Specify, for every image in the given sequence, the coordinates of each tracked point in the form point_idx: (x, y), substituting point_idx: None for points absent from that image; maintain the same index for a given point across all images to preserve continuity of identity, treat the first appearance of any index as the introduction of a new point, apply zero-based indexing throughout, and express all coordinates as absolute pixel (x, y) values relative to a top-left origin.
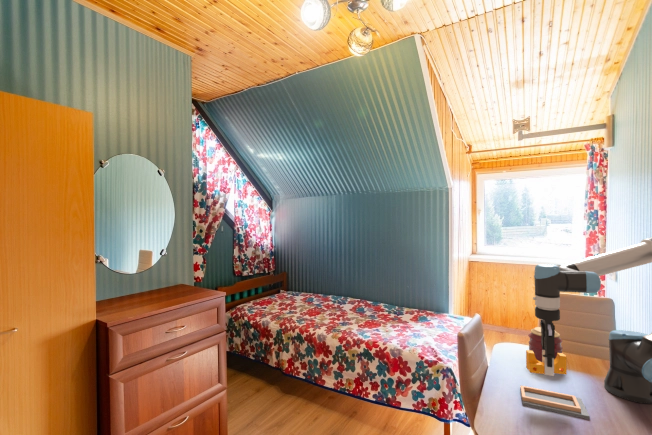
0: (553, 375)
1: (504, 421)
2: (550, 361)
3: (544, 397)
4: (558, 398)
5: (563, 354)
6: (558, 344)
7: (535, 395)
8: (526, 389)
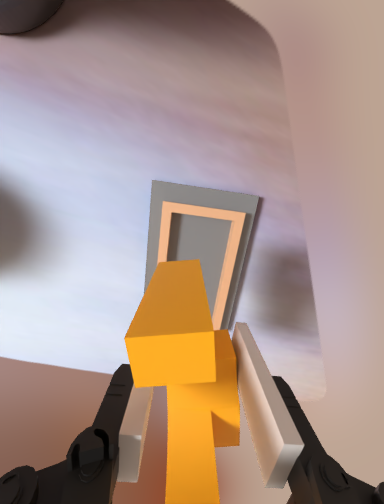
0: (246, 327)
1: (298, 368)
2: (306, 431)
3: None
4: (177, 248)
5: (162, 345)
6: None
7: None
8: None
